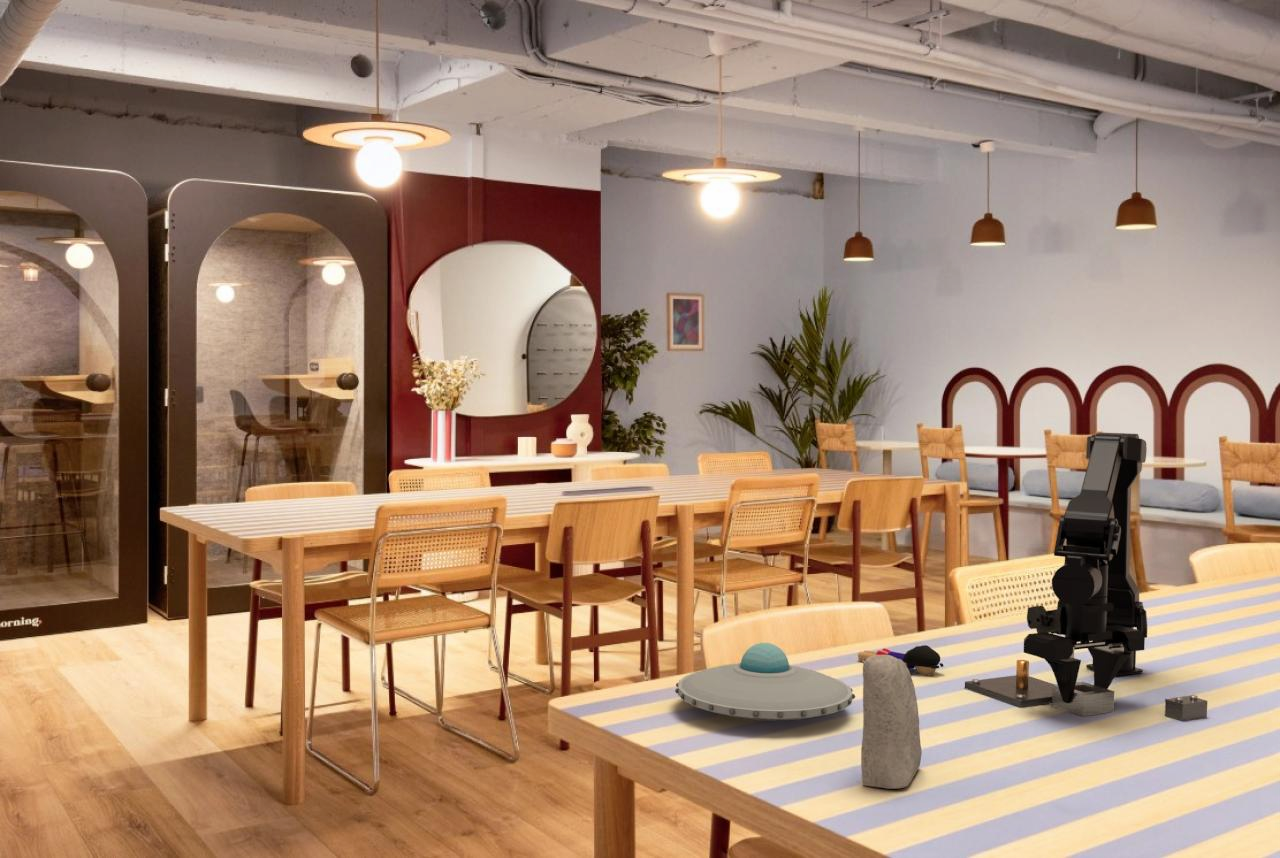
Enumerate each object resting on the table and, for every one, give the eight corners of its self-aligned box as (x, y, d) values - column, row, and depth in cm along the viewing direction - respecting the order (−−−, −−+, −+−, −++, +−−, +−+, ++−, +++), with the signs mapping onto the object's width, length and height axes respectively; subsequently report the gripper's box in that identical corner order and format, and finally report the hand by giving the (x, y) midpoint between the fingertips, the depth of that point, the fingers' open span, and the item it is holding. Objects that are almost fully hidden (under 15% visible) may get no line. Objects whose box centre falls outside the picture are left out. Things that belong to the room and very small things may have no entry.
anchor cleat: (1189, 711, 177) (1189, 692, 177) (1206, 717, 174) (1207, 697, 174) (1164, 715, 175) (1165, 696, 175) (1182, 721, 172) (1183, 701, 172)
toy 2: (844, 669, 202) (925, 682, 192) (844, 642, 202) (924, 653, 192) (877, 660, 210) (956, 672, 199) (877, 633, 210) (956, 644, 199)
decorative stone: (883, 760, 152) (886, 642, 152) (930, 768, 149) (933, 648, 149) (853, 785, 143) (856, 659, 142) (903, 794, 140) (906, 666, 139)
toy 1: (637, 712, 172) (638, 643, 172) (744, 680, 192) (745, 617, 191) (788, 751, 155) (789, 674, 155) (888, 711, 175) (890, 643, 174)
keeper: (1023, 680, 194) (1024, 649, 194) (1080, 699, 183) (1081, 666, 183) (964, 688, 189) (965, 656, 188) (1020, 707, 178) (1021, 673, 178)
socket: (1082, 701, 182) (1082, 681, 182) (1113, 711, 176) (1114, 691, 176) (1052, 705, 179) (1052, 685, 179) (1083, 716, 174) (1083, 695, 174)
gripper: (1090, 581, 188) (1087, 681, 189) (998, 589, 180) (995, 693, 181) (1149, 594, 178) (1145, 699, 179) (1054, 602, 170) (1050, 712, 171)
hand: (1082, 700), depth 178 cm, fingers closed on socket, 6 cm apart
